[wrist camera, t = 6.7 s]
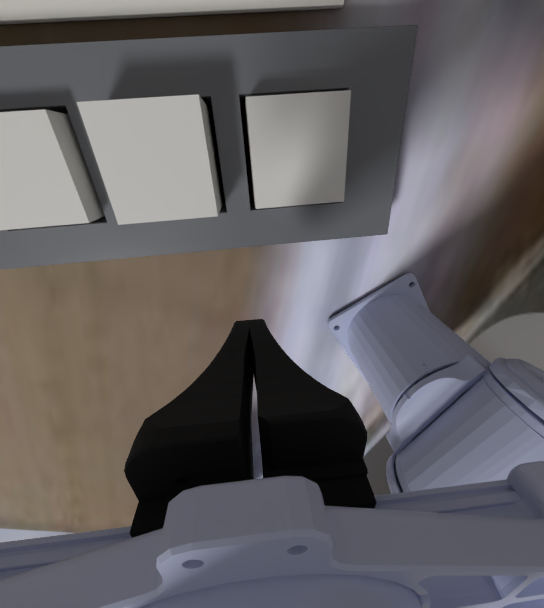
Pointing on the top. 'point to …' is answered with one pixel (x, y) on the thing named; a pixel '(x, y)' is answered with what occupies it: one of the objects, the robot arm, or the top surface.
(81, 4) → the pattern card
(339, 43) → the button board
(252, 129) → the button
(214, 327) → the top surface
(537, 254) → the top surface
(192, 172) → the middle button
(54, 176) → the button
